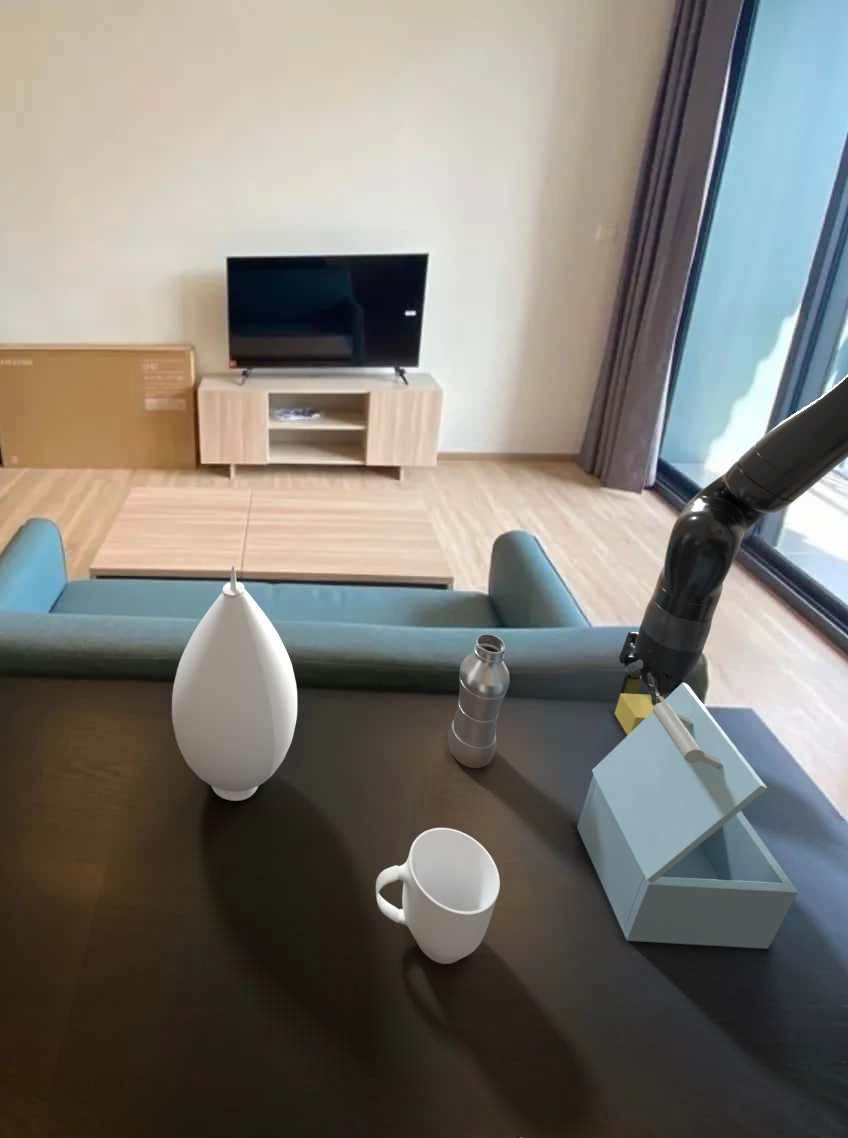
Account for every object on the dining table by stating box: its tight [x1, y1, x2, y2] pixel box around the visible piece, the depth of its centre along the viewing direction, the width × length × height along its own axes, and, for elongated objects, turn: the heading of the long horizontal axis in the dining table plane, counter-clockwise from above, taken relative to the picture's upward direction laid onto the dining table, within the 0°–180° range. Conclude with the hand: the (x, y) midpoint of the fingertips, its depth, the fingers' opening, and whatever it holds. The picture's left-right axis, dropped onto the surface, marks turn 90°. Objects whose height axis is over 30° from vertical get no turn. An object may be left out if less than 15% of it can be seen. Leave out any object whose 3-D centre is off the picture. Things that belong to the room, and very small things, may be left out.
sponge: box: [614, 693, 666, 736], centre depth 95 cm, size 6×4×4 cm
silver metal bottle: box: [447, 633, 511, 769], centre depth 88 cm, size 6×7×20 cm
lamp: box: [171, 564, 298, 802], centre depth 81 cm, size 16×16×35 cm
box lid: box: [591, 682, 768, 882], centre depth 68 cm, size 16×13×5 cm
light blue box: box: [577, 774, 799, 950], centre depth 73 cm, size 15×13×10 cm
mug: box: [375, 827, 501, 965], centre depth 68 cm, size 12×9×12 cm
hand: (642, 717), depth 95 cm, fingers open, 8 cm apart
